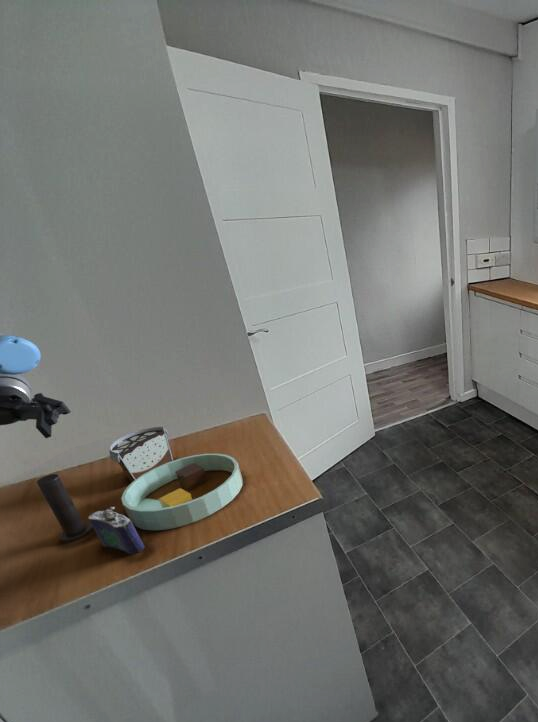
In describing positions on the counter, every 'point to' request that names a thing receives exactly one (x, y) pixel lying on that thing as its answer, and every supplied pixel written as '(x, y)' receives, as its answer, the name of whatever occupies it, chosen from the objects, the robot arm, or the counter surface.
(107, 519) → the flask
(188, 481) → the walnut block
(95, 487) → the counter surface
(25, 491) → the counter surface
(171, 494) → the mustard block
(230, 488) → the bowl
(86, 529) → the dark cylinder with base
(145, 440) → the food container
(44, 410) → the robot arm
